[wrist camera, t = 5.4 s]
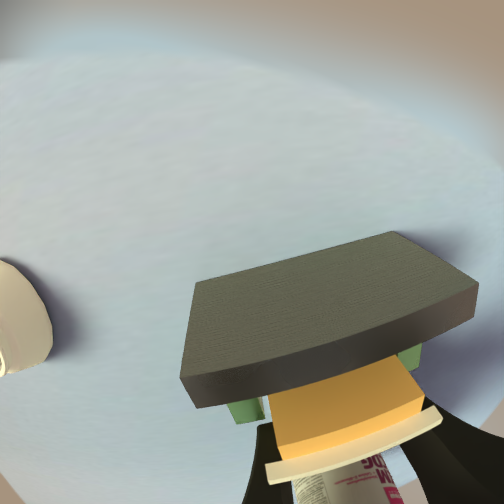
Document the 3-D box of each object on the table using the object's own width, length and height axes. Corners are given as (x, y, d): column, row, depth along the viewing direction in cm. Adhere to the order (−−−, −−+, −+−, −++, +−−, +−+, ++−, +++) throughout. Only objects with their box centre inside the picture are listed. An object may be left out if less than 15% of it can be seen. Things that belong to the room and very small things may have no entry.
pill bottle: (383, 416, 13) (443, 534, 5) (341, 461, 15) (378, 566, 7) (310, 414, 12) (358, 569, 4) (273, 462, 14) (296, 587, 6)
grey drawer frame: (390, 384, 12) (431, 450, 8) (252, 427, 12) (262, 507, 8) (392, 230, 10) (479, 282, 5) (195, 282, 10) (178, 377, 5)
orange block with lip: (381, 356, 11) (435, 437, 6) (258, 394, 11) (275, 494, 6) (382, 318, 10) (449, 400, 6) (246, 358, 10) (261, 469, 6)
